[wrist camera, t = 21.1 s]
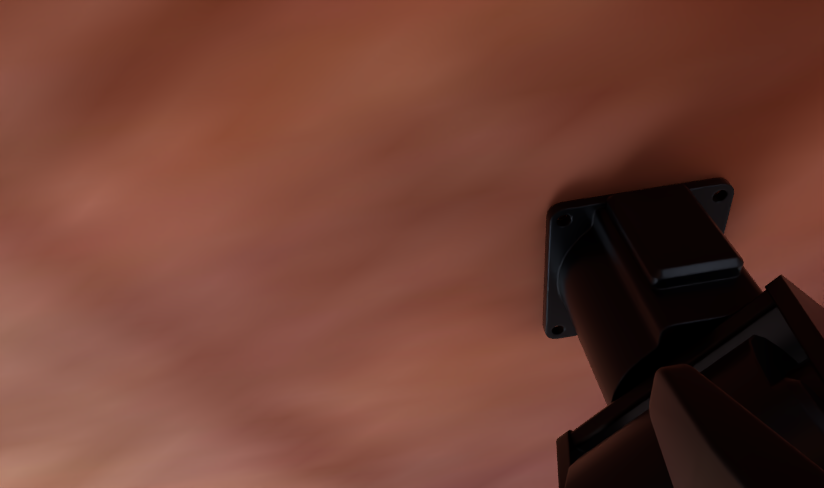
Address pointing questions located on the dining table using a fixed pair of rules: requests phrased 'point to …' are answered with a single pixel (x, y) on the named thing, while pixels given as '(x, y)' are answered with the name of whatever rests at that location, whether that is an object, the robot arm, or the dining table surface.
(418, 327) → the dining table surface
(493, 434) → the dining table surface
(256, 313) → the dining table surface
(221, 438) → the dining table surface
